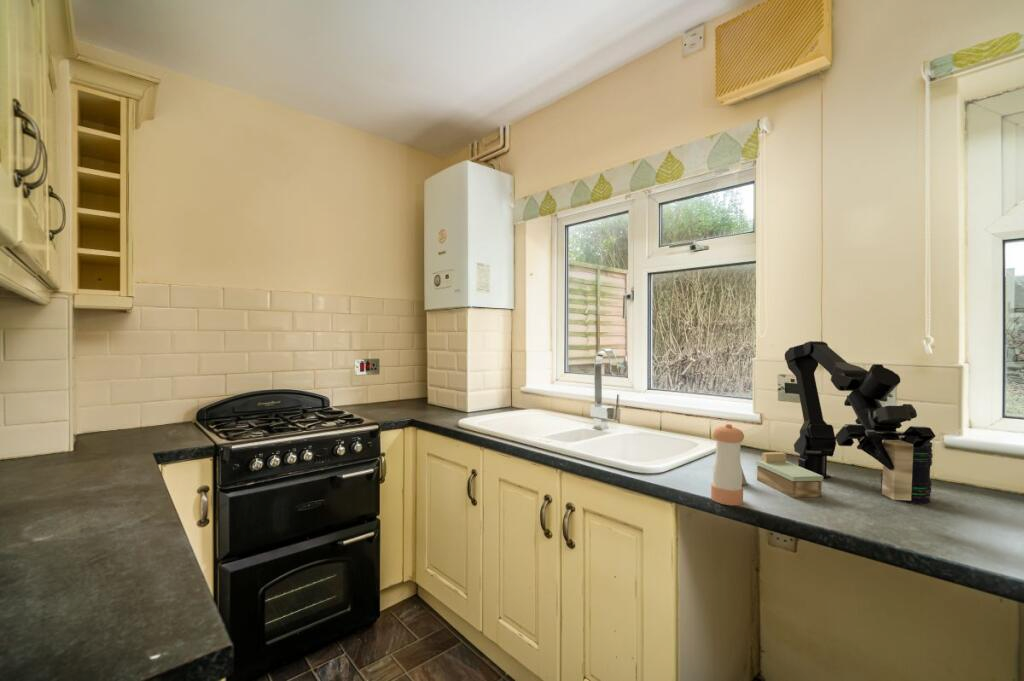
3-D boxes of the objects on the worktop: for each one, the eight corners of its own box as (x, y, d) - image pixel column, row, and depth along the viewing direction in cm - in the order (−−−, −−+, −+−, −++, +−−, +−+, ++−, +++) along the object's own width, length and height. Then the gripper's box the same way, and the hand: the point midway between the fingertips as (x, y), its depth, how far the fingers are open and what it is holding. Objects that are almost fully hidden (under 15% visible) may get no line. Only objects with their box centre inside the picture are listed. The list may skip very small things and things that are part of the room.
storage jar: (931, 497, 117) (933, 440, 117) (931, 508, 110) (933, 447, 110) (881, 488, 124) (883, 433, 124) (878, 497, 117) (880, 440, 117)
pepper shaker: (706, 500, 113) (708, 424, 113) (716, 492, 119) (718, 420, 118) (737, 508, 108) (739, 428, 108) (746, 500, 114) (748, 424, 113)
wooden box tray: (782, 479, 130) (783, 465, 130) (821, 496, 117) (821, 481, 116) (756, 479, 130) (757, 465, 129) (792, 497, 116) (793, 482, 116)
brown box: (881, 493, 104) (883, 439, 104) (898, 494, 104) (900, 440, 103) (893, 499, 100) (895, 443, 100) (911, 500, 100) (913, 444, 100)
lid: (783, 464, 131) (783, 451, 130) (823, 480, 116) (823, 466, 116) (756, 464, 130) (756, 451, 130) (793, 481, 115) (793, 467, 115)
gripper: (844, 390, 106) (876, 449, 95) (930, 392, 104) (972, 452, 94) (823, 416, 114) (850, 474, 103) (903, 419, 112) (938, 477, 102)
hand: (901, 469), depth 100 cm, fingers closed on brown box, 4 cm apart
